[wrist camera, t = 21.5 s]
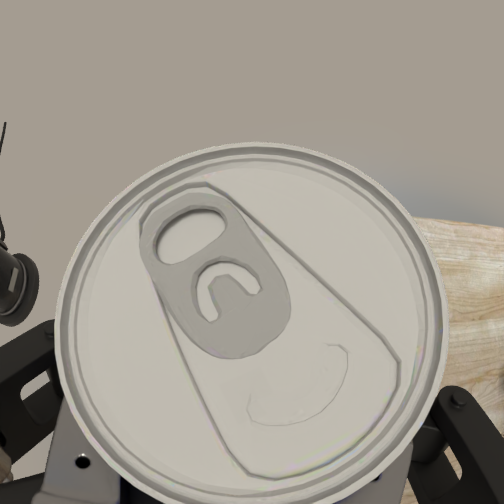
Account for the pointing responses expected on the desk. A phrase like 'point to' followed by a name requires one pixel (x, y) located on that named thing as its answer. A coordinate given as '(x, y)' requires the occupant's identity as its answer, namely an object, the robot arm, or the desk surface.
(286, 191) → the beverage can
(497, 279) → the desk surface
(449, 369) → the desk surface
